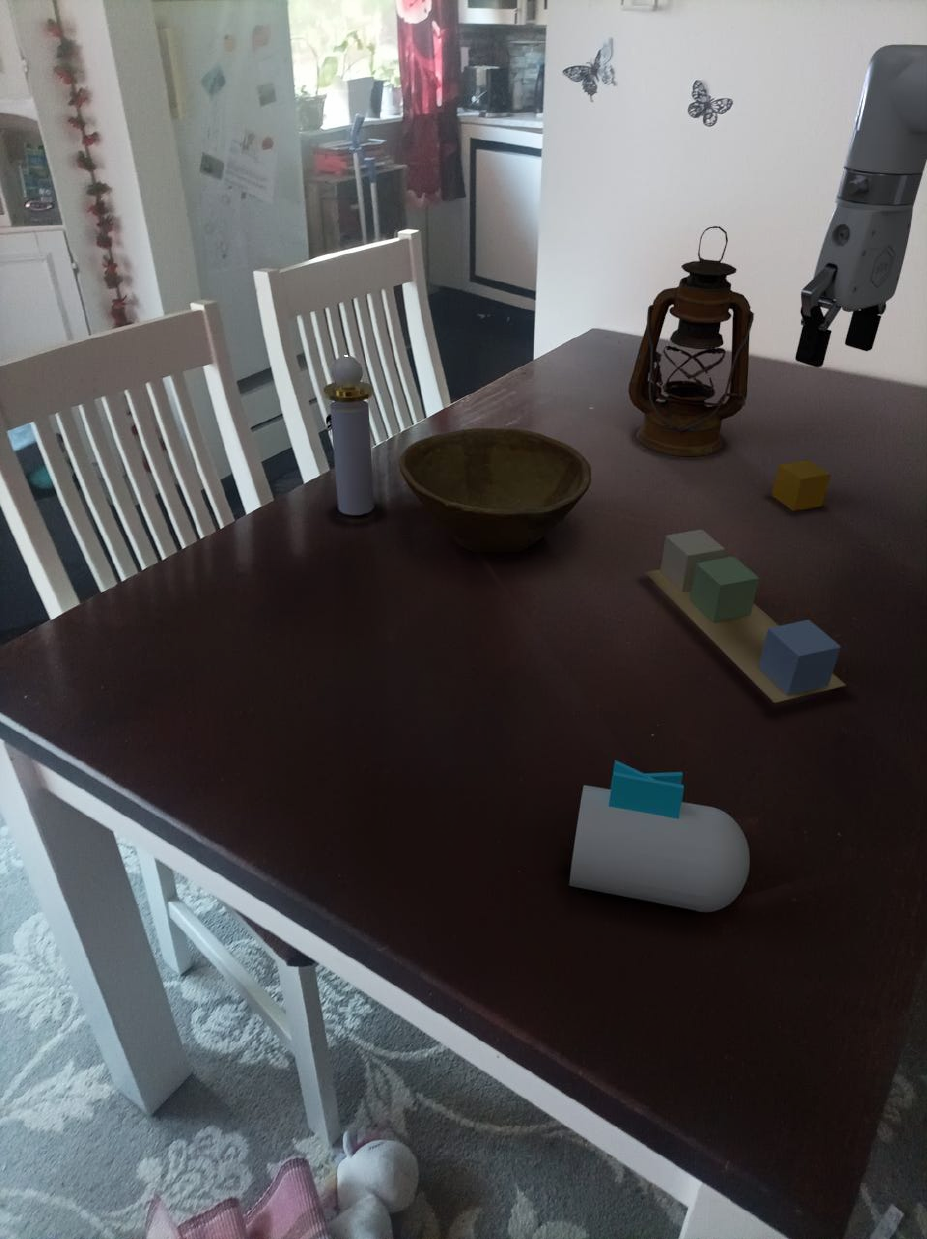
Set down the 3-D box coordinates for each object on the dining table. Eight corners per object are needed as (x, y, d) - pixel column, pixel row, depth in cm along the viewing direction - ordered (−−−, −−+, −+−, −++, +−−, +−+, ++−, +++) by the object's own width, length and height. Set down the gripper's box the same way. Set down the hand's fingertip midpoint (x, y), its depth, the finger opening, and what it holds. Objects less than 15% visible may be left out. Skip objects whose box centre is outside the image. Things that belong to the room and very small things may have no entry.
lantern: (735, 428, 135) (777, 219, 118) (738, 462, 125) (784, 238, 108) (626, 417, 138) (651, 212, 121) (619, 450, 128) (646, 230, 111)
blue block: (797, 658, 85) (808, 619, 82) (828, 686, 81) (841, 646, 79) (757, 667, 84) (767, 627, 81) (787, 696, 80) (798, 656, 77)
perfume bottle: (387, 508, 112) (381, 353, 100) (361, 526, 108) (351, 367, 96) (351, 498, 114) (340, 345, 103) (324, 515, 110) (310, 358, 99)
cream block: (695, 564, 99) (702, 529, 97) (717, 585, 96) (725, 548, 93) (659, 571, 98) (665, 535, 95) (681, 592, 94) (688, 555, 92)
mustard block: (800, 491, 117) (808, 459, 115) (822, 506, 114) (831, 474, 111) (771, 496, 116) (779, 464, 113) (793, 511, 112) (801, 478, 110)
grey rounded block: (769, 813, 56) (582, 781, 58) (745, 940, 58) (565, 904, 60) (748, 753, 67) (593, 728, 69) (729, 861, 69) (578, 834, 71)
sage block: (726, 592, 94) (733, 555, 92) (750, 615, 91) (759, 577, 88) (689, 599, 93) (696, 562, 90) (712, 623, 90) (720, 585, 87)
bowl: (412, 596, 95) (410, 515, 89) (393, 501, 113) (391, 429, 108) (606, 582, 98) (616, 502, 92) (556, 492, 116) (562, 421, 111)
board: (704, 567, 101) (706, 560, 100) (843, 693, 82) (846, 685, 81) (643, 579, 98) (644, 571, 98) (772, 710, 80) (774, 702, 79)
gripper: (864, 203, 82) (818, 380, 92) (955, 187, 91) (904, 350, 101) (795, 191, 87) (759, 361, 97) (889, 177, 96) (846, 334, 105)
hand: (833, 355), depth 99 cm, fingers open, 9 cm apart
